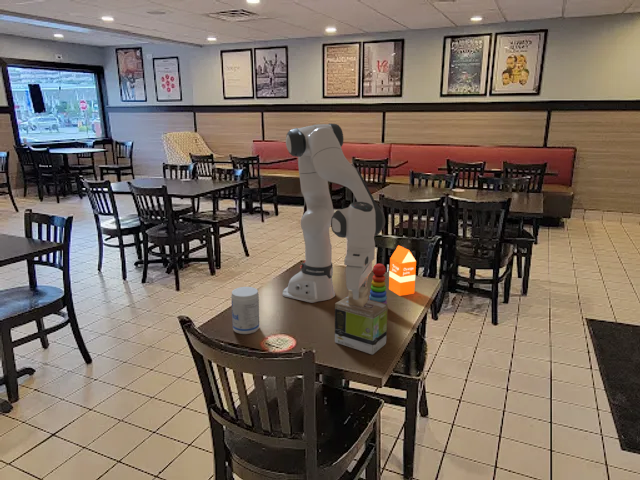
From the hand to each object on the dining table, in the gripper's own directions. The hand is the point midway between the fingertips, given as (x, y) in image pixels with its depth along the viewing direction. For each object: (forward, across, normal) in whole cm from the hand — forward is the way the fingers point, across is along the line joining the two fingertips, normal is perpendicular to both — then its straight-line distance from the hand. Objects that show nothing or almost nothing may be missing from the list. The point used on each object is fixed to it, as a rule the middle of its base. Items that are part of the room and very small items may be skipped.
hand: (359, 293), depth 150 cm
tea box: (+18, 0, +1) cm, 18 cm away
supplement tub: (+18, +3, -41) cm, 45 cm away
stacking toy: (+18, -30, 0) cm, 35 cm away
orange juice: (+18, -52, +6) cm, 55 cm away
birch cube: (+3, 0, 0) cm, 3 cm away
